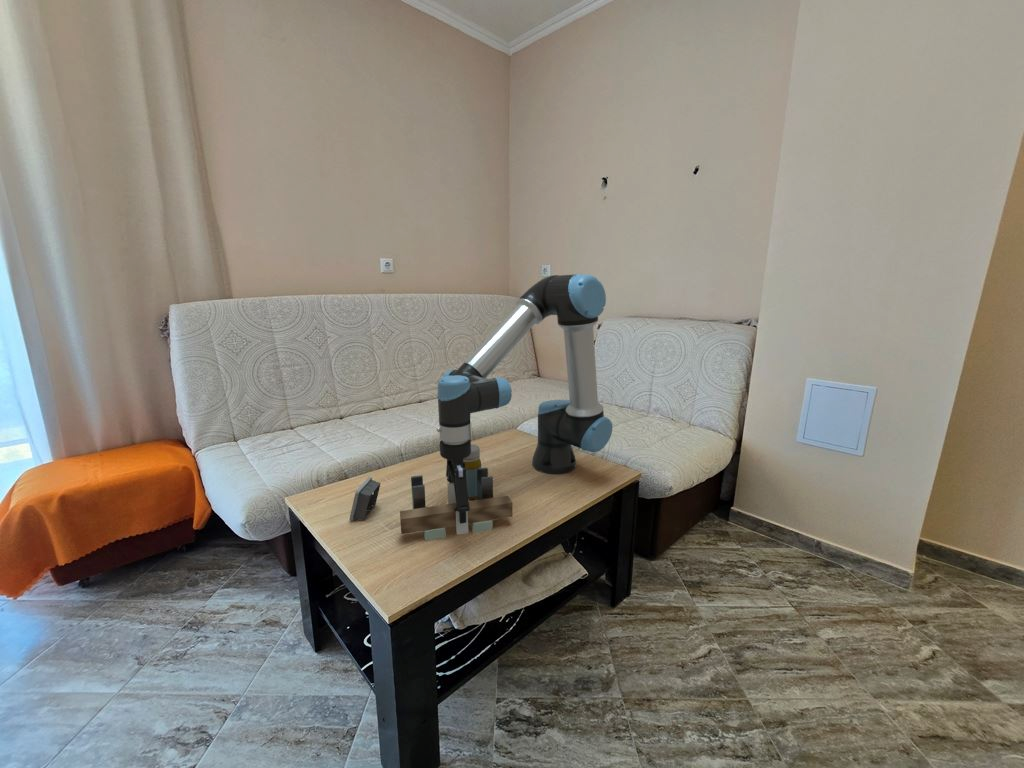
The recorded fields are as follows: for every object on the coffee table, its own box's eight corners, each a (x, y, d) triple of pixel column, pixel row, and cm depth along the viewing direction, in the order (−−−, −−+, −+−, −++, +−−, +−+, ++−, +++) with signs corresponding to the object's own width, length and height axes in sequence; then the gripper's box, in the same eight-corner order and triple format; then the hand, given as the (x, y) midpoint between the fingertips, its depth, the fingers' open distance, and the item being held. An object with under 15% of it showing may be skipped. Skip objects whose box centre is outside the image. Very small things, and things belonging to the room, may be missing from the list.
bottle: (478, 502, 121) (477, 453, 117) (455, 499, 122) (453, 451, 119) (484, 491, 127) (483, 444, 124) (462, 488, 129) (461, 443, 125)
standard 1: (427, 510, 116) (425, 473, 114) (430, 525, 109) (428, 486, 106) (409, 513, 115) (406, 476, 112) (410, 528, 107) (408, 489, 105)
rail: (508, 509, 112) (508, 495, 111) (512, 516, 108) (512, 502, 107) (400, 525, 104) (399, 511, 103) (401, 534, 100) (400, 519, 99)
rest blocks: (488, 519, 111) (487, 511, 111) (492, 529, 107) (492, 521, 106) (423, 529, 107) (422, 521, 106) (425, 541, 102) (424, 531, 101)
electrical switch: (363, 504, 119) (364, 474, 117) (381, 506, 119) (382, 476, 117) (348, 522, 110) (349, 490, 108) (367, 524, 110) (368, 492, 108)
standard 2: (490, 501, 121) (490, 466, 119) (497, 515, 114) (497, 477, 111) (473, 503, 120) (472, 468, 117) (479, 518, 112) (478, 480, 110)
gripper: (433, 425, 112) (436, 497, 117) (447, 461, 89) (450, 549, 93) (461, 422, 114) (463, 493, 119) (481, 457, 91) (483, 543, 95)
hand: (457, 518), depth 106 cm, fingers open, 13 cm apart
